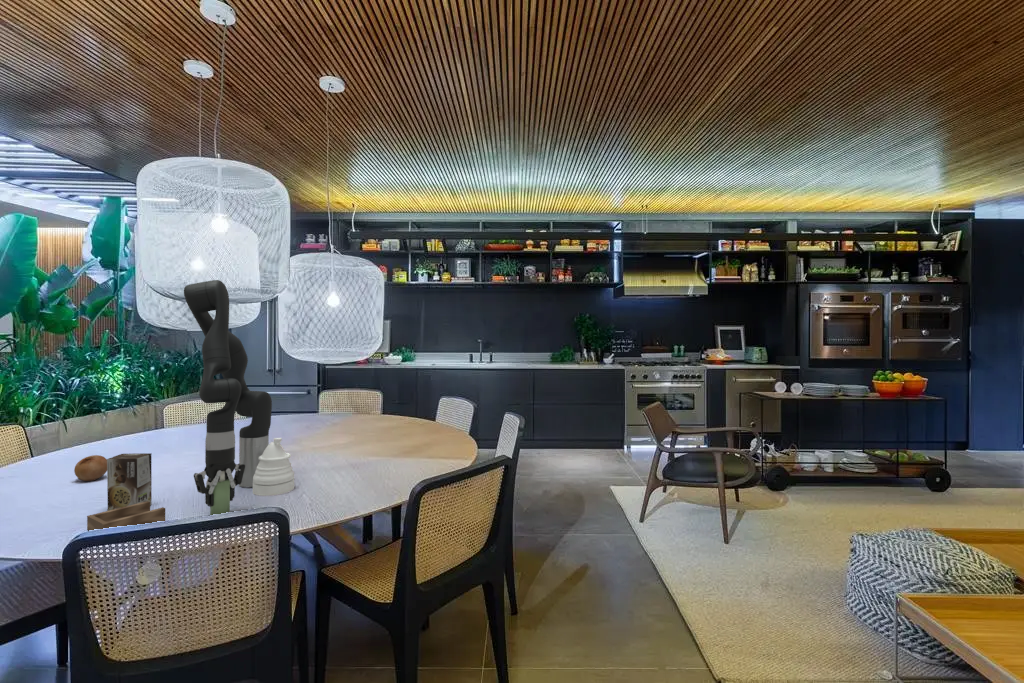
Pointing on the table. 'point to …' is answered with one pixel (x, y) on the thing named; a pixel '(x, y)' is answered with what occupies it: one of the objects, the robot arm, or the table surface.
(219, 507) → the bottle
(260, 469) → the honey pot
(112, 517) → the u rest
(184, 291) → the robot arm
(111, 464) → the coffee box
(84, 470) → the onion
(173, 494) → the table surface
